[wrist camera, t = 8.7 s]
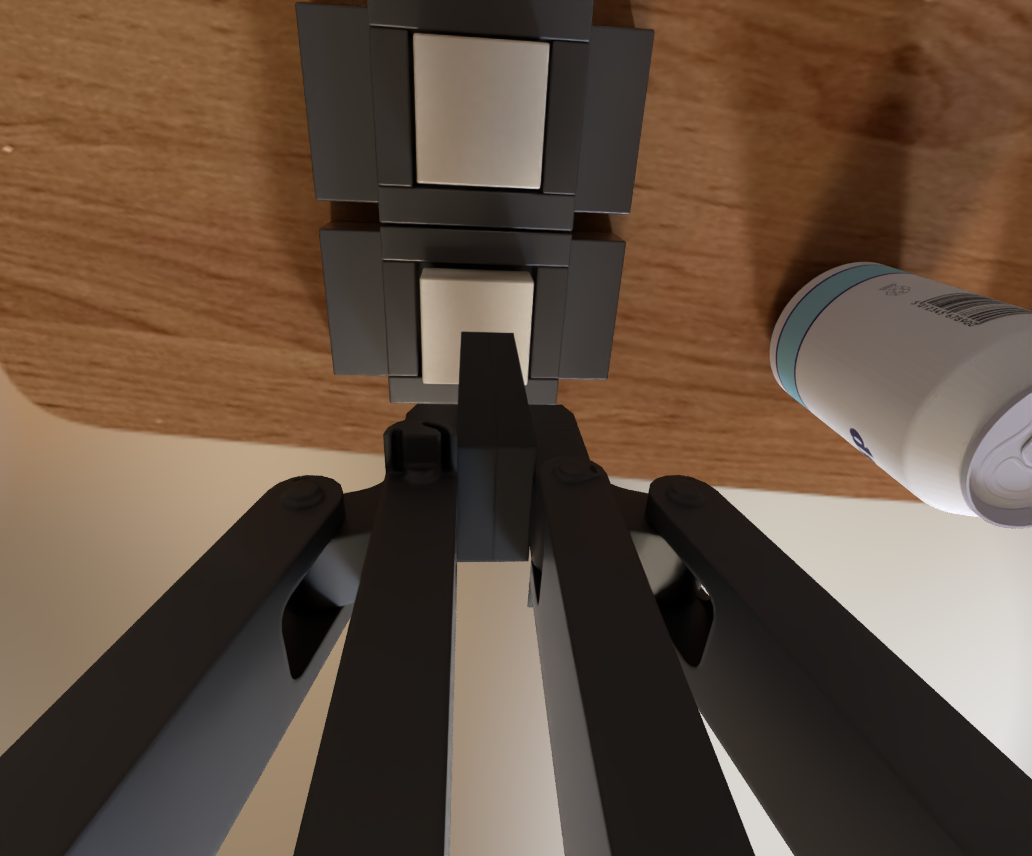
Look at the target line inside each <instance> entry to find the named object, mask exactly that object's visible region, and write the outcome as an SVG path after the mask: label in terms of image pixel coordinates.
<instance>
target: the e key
mask: <svg viewBox="0 0 1032 856" xmlns="http://www.w3.org/2000/svg"><path fill="white" fill-rule="evenodd" d="M533 290H534V282H533V280H532V278H531V275H530V273H529V272H528V271H509V270H480V269H452V268H423V271H422V274H421V277H420V308H421V345H422V381H423V383H427V384H459V367H460V346H461V331H464V332H500V333H514V337H515V342H516V347H517V351H518V356H519V361H520V366H521V370H522V375H523V380H524V385H527V382H528V366H529V351H530V336H531V321H532V305H533Z"/></svg>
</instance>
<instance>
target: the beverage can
mask: <svg viewBox="0 0 1032 856" xmlns="http://www.w3.org/2000/svg"><path fill="white" fill-rule="evenodd" d="M770 364H771V368H772V371H773V374H774V376H775V379H776V380H777V382H778V383H779V385H780V386H781V387H782V388H783V389H784V390H785V391H786V392H787V393H788V394H789V395H791V396H792V397H793V398H794V399H796V400H797V401H798V402H799V403H801V404H802V405H803V406H804V407H806V408H807V409H808V410H809V411H811V412H812V413H813V414H814V415H816V416H817V417H818V418H819V419H821V420H822V421H823V422H824V423H826V424H827V425H828V426H829V427H831V428H832V429H833V430H834V431H836V432H837V433H838V434H839V435H841V436H842V437H843V438H844V439H846V440H847V441H848V442H849V443H851V444H852V445H853V446H854V447H856V448H857V449H858V450H859V451H861V452H862V453H863V454H864V455H866V456H867V457H868V458H869V459H871V460H872V461H873V462H874V463H876V464H877V465H878V466H879V467H881V468H882V469H883V470H884V471H886V472H887V473H888V474H889V475H891V476H892V477H893V478H894V479H896V480H897V481H898V482H899V483H901V484H902V485H903V486H904V487H906V488H907V489H908V490H909V491H911V492H912V493H913V494H914V495H916V496H917V497H918V498H919V499H921V500H922V501H923V502H925V503H927V504H928V505H930V506H932V507H934V508H937V509H939V510H942V511H946V512H950V513H955V514H962V515H969V516H975V517H981V518H982V519H983V520H985V521H987V522H988V523H990V524H993V525H996V526H1000V527H1005V528H1030V527H1032V311H1031V310H1028V309H1024V308H1021V307H1018V306H1015V305H1011V304H1008V303H1005V302H1002V301H999V300H995V299H992V298H989V297H986V296H982V295H979V294H976V293H973V292H970V291H966V290H963V289H960V288H957V287H953V286H950V285H947V284H944V283H941V282H937V281H934V280H931V279H928V278H924V277H921V276H918V275H915V274H912V273H908V272H905V271H902V270H899V269H895V268H892V267H889V266H886V265H882V264H879V263H874V262H855V263H849V264H844V265H841V266H838V267H835V268H833V269H830V270H828V271H826V272H824V273H822V274H820V275H819V276H817V277H816V278H814V279H813V280H811V281H810V282H809V283H807V284H806V285H805V286H804V287H803V288H801V289H800V290H799V291H798V292H797V293H796V294H795V295H794V297H793V298H792V299H791V300H790V301H789V303H788V304H787V305H786V307H785V308H784V310H783V311H782V313H781V315H780V317H779V319H778V321H777V323H776V325H775V328H774V330H773V334H772V338H771V343H770Z"/></svg>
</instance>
